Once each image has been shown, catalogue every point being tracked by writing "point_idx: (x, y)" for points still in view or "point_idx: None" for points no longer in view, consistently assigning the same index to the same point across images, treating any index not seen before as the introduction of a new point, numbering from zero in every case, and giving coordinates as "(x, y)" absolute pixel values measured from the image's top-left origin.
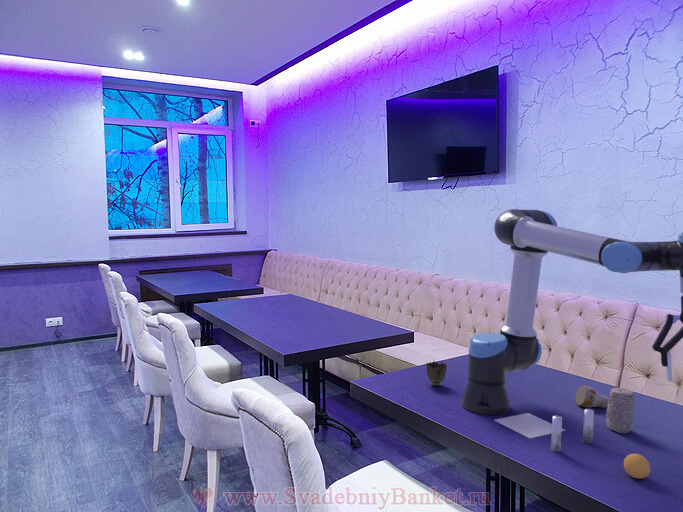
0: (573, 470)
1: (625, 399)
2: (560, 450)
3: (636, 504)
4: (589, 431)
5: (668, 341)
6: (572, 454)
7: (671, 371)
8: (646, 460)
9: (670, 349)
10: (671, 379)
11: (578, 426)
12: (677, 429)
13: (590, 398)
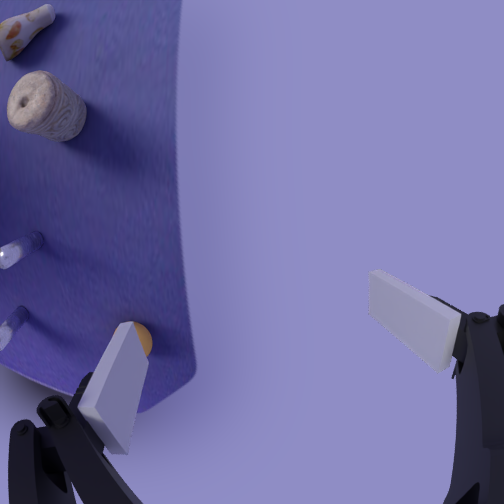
0: (69, 362)
1: (41, 127)
2: (27, 313)
3: (159, 398)
4: (28, 254)
5: (76, 483)
6: (42, 311)
7: (140, 389)
8: (144, 350)
9: (120, 477)
10: (145, 367)
11: (9, 167)
12: (179, 30)
13: (12, 49)
